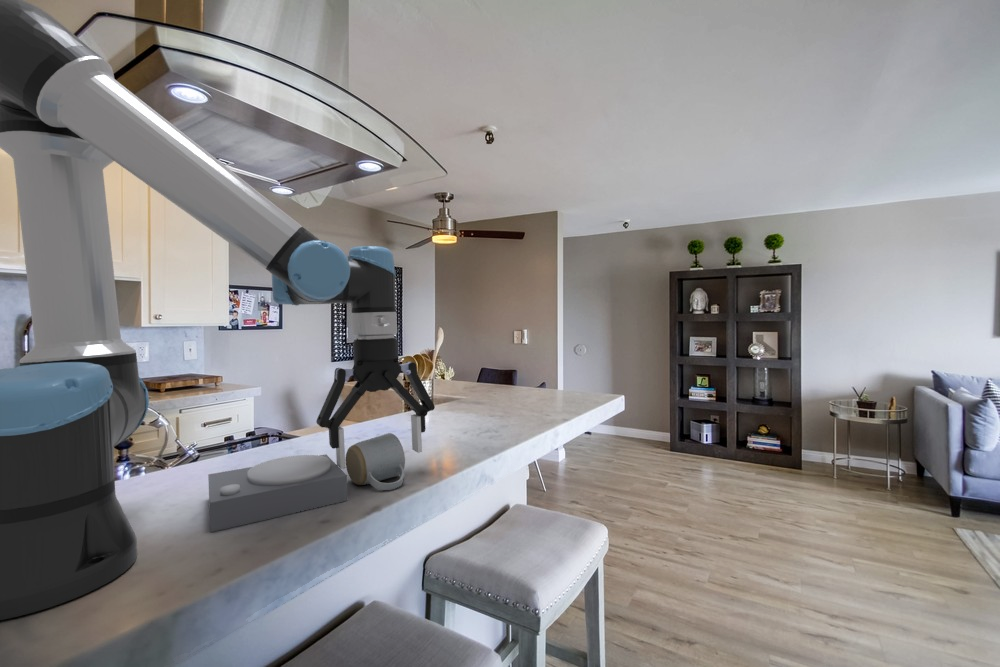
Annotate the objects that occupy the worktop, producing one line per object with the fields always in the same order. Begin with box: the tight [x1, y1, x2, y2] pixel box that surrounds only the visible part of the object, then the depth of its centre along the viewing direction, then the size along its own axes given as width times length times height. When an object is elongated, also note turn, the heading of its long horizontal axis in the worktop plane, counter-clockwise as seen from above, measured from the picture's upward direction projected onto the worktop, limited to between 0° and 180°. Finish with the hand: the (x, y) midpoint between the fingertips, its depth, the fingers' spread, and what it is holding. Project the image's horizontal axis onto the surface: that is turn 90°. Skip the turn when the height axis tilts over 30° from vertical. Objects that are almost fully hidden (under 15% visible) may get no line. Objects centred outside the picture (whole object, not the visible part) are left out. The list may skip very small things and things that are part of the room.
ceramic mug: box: [345, 432, 406, 491], centre depth 78 cm, size 11×8×8 cm
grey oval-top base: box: [207, 453, 349, 533], centre depth 71 cm, size 18×14×5 cm
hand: (380, 458), depth 79 cm, fingers open, 13 cm apart
